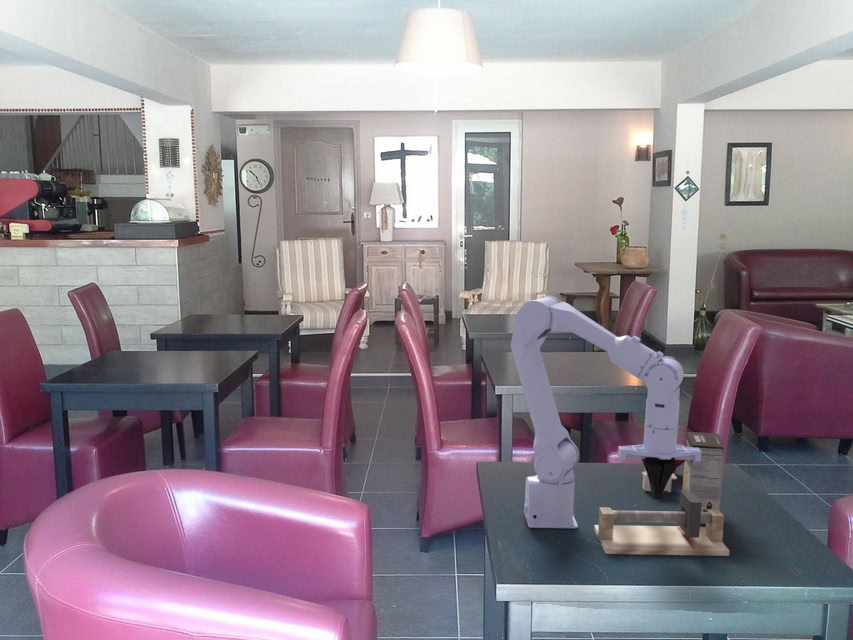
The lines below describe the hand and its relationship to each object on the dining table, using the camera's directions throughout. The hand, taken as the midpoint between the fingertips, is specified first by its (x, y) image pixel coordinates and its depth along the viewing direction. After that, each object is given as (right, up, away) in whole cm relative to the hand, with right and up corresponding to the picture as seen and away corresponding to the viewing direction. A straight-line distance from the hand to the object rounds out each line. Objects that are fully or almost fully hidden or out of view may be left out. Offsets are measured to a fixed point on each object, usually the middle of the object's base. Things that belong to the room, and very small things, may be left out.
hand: (656, 496), depth 139 cm
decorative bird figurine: (+16, -4, +38) cm, 41 cm away
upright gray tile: (+6, -7, +1) cm, 9 cm away
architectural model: (+8, -6, +27) cm, 29 cm away
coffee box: (+13, -7, +14) cm, 21 cm away
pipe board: (+1, -9, +1) cm, 9 cm away
